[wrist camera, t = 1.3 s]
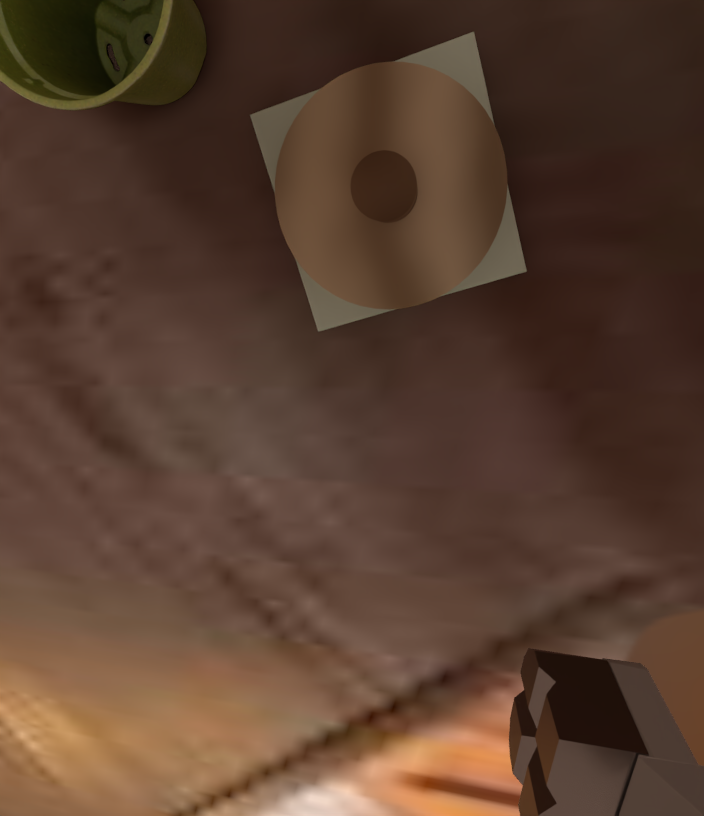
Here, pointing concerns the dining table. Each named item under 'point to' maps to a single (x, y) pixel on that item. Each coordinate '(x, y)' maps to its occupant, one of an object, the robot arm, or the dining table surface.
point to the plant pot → (100, 51)
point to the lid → (391, 185)
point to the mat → (506, 248)
